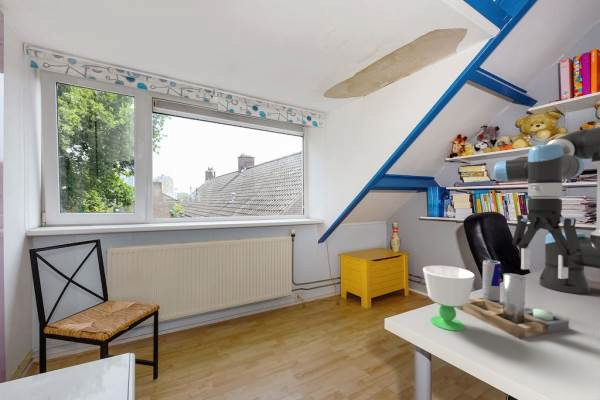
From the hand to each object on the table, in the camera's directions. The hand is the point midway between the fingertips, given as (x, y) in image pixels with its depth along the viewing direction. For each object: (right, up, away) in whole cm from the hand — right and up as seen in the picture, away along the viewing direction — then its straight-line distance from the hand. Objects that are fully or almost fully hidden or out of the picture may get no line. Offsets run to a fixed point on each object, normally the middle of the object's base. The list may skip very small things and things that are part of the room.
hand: (543, 273), depth 79 cm
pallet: (-11, -15, +4) cm, 19 cm away
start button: (0, -14, 0) cm, 14 cm away
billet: (-9, -15, -1) cm, 18 cm away
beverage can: (-3, -15, +17) cm, 23 cm away
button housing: (0, -15, 0) cm, 15 cm away
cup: (-28, -16, +1) cm, 32 cm away
